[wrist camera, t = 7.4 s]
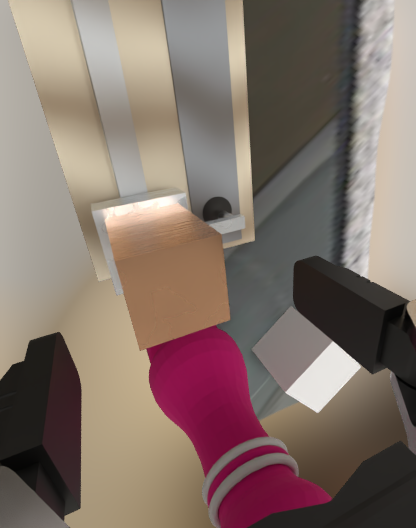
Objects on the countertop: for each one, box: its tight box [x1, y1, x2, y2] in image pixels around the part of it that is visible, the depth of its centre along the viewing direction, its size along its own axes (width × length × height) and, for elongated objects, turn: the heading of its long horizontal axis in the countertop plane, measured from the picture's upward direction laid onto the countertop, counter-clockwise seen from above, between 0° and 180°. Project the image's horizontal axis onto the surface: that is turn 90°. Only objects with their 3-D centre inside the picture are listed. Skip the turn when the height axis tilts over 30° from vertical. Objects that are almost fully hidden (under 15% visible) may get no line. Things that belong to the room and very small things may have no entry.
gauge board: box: [8, 0, 255, 282], centre depth 15 cm, size 20×12×8 cm, turn 7°
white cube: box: [252, 306, 361, 413], centre depth 29 cm, size 6×6×6 cm
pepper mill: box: [147, 325, 332, 528], centre depth 18 cm, size 7×7×20 cm
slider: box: [91, 187, 245, 351], centre depth 15 cm, size 5×8×8 cm, turn 97°
